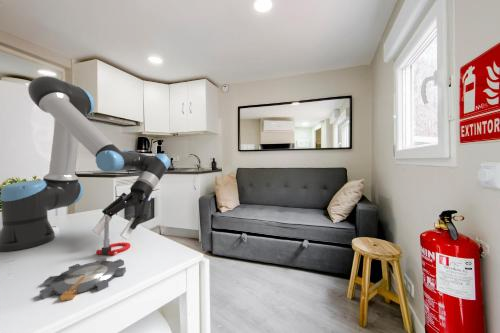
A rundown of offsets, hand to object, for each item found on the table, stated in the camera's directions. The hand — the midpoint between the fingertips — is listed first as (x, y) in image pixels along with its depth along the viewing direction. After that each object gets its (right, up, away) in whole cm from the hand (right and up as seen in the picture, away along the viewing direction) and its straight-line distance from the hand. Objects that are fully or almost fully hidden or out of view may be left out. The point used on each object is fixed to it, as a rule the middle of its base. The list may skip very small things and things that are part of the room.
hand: (109, 235), depth 70 cm
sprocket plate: (+5, -6, -15) cm, 17 cm away
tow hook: (+1, -6, +2) cm, 6 cm away
